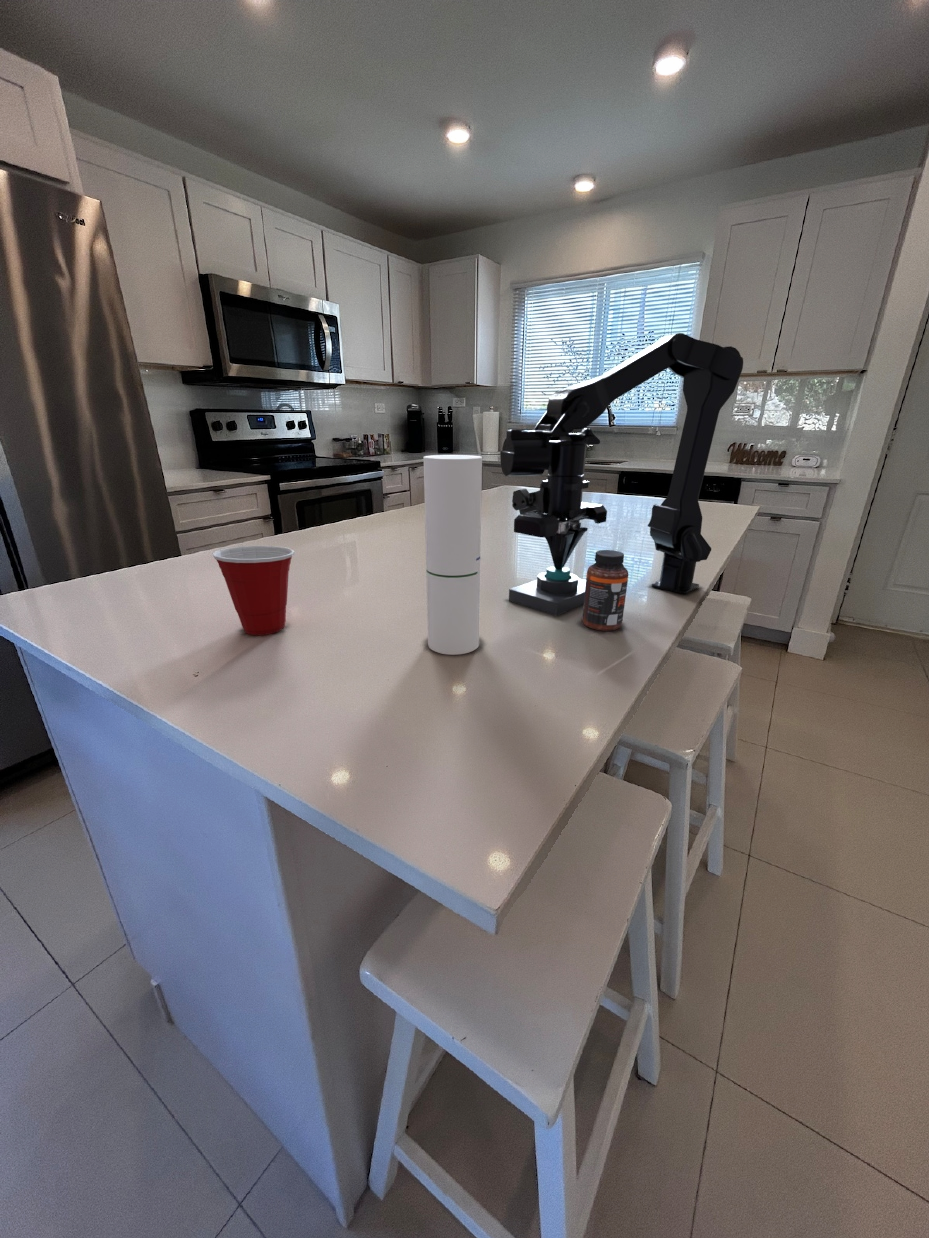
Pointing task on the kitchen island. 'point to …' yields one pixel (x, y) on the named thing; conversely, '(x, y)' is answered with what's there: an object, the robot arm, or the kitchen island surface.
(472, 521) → the cylindrical container
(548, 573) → the lid button
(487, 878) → the kitchen island surface
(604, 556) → the supplement bottle
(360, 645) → the kitchen island surface
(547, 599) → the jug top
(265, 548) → the plastic cup
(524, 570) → the kitchen island surface
